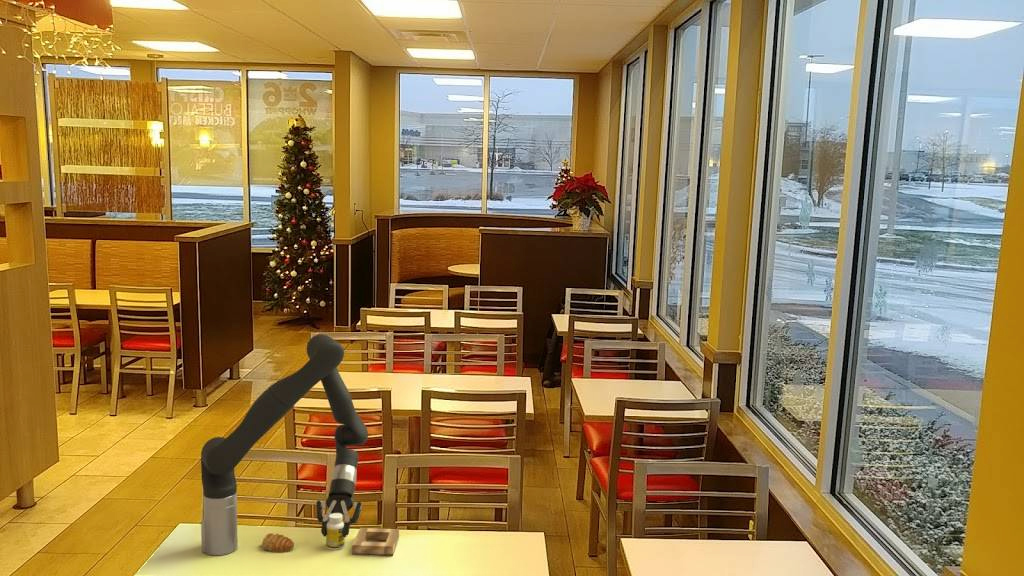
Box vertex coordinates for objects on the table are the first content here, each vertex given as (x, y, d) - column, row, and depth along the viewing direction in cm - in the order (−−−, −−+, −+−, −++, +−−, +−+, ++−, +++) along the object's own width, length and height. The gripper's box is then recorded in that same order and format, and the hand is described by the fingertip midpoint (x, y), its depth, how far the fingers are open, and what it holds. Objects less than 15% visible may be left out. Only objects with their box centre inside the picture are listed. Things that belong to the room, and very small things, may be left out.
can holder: (352, 554, 235) (352, 545, 235) (360, 537, 247) (360, 527, 247) (392, 556, 235) (392, 546, 235) (398, 538, 247) (398, 529, 247)
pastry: (299, 546, 240) (299, 534, 240) (286, 555, 234) (286, 543, 234) (272, 541, 243) (271, 529, 243) (259, 550, 237) (258, 538, 236)
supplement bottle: (340, 551, 237) (340, 520, 236) (323, 549, 238) (323, 518, 237) (347, 543, 242) (347, 512, 241) (330, 541, 244) (330, 510, 242)
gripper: (317, 476, 245) (307, 530, 235) (364, 478, 245) (356, 532, 235) (322, 486, 251) (312, 539, 241) (367, 488, 251) (360, 541, 241)
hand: (334, 535), depth 238 cm, fingers closed on supplement bottle, 5 cm apart
